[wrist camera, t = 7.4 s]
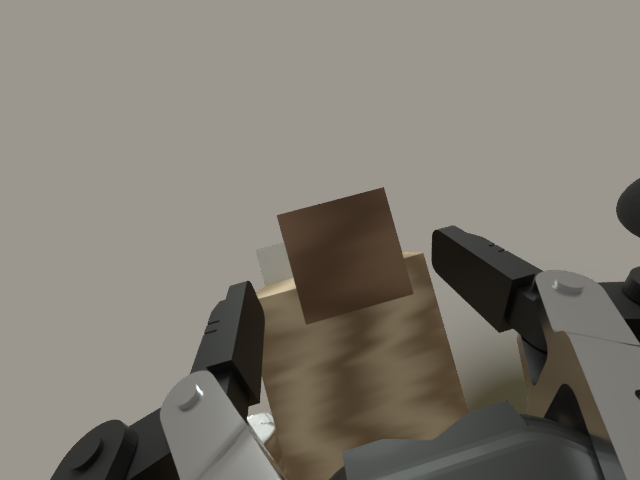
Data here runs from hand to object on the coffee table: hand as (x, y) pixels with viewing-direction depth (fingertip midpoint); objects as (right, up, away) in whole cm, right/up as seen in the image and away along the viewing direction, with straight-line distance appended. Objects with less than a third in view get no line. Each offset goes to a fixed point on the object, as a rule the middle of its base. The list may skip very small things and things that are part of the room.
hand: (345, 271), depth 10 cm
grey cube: (-5, -3, +17) cm, 18 cm away
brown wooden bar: (0, -2, +10) cm, 10 cm away
